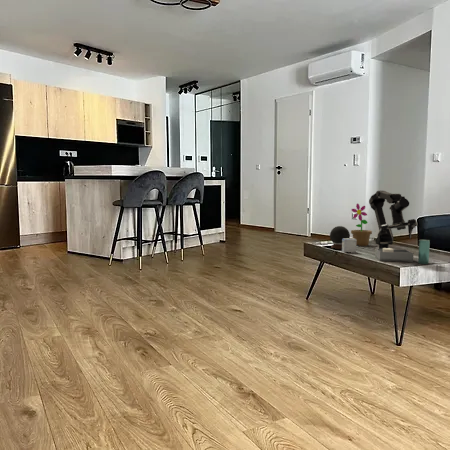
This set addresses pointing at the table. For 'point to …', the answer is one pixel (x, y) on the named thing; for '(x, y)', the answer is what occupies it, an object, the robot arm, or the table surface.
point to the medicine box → (349, 245)
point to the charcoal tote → (394, 255)
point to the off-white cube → (388, 250)
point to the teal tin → (423, 251)
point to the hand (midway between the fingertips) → (401, 240)
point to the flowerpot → (361, 235)
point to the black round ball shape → (338, 236)
